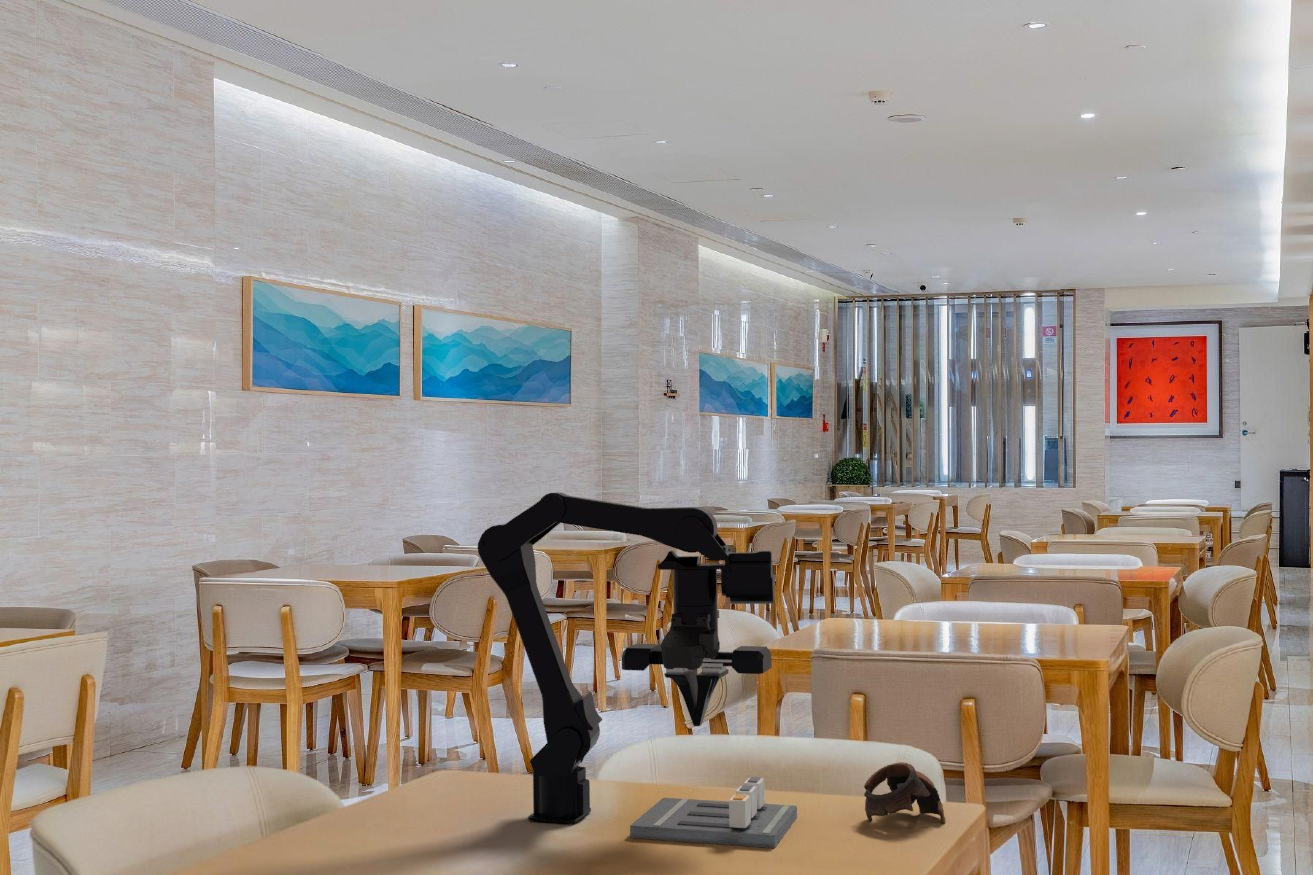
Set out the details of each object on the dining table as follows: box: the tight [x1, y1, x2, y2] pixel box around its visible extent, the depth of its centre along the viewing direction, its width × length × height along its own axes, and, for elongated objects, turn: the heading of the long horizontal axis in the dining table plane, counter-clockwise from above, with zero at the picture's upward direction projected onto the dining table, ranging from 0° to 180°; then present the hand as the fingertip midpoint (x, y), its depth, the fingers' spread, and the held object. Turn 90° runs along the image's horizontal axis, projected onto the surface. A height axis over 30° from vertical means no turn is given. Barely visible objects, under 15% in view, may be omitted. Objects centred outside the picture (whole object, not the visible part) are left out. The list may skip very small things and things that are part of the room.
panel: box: [629, 797, 798, 849], centre depth 158 cm, size 18×14×2 cm
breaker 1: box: [743, 776, 766, 809], centre depth 161 cm, size 2×3×3 cm
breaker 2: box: [735, 784, 757, 818], centre depth 157 cm, size 2×3×3 cm
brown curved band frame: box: [863, 762, 946, 825], centre depth 161 cm, size 12×10×8 cm
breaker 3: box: [728, 793, 751, 828], centre depth 153 cm, size 2×3×3 cm
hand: (697, 725), depth 162 cm, fingers closed
